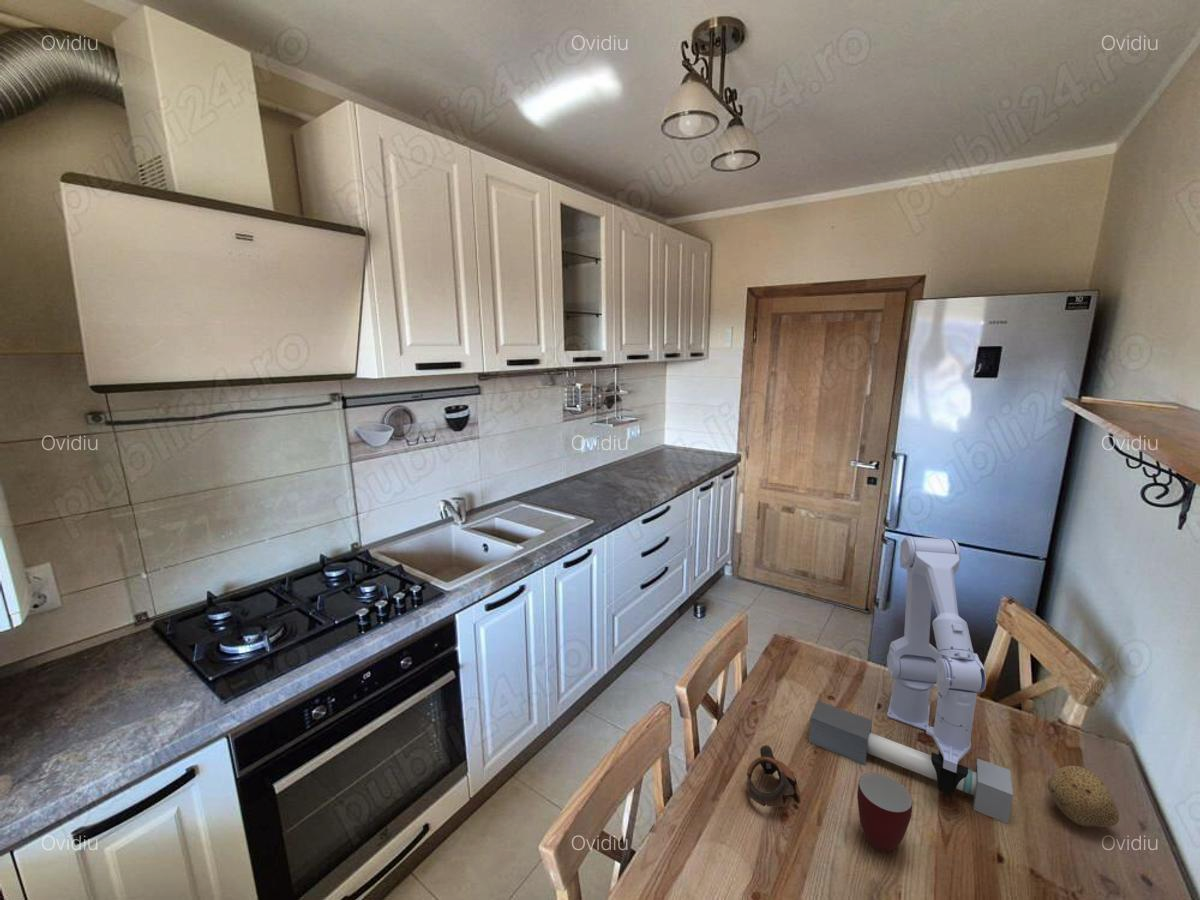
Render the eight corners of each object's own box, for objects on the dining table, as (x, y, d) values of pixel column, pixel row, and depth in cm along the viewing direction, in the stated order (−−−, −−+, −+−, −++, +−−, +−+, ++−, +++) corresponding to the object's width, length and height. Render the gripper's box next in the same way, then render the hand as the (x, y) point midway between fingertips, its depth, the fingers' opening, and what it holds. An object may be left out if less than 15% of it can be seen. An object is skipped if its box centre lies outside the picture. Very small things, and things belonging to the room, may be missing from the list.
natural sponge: (1032, 792, 96) (1039, 747, 94) (1088, 802, 94) (1097, 756, 92) (1061, 835, 87) (1070, 786, 85) (1124, 848, 85) (1135, 798, 83)
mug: (842, 805, 93) (846, 759, 92) (888, 810, 92) (893, 763, 91) (863, 860, 83) (869, 809, 81) (915, 867, 82) (922, 815, 80)
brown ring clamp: (811, 817, 92) (797, 793, 89) (763, 831, 94) (747, 808, 90) (789, 753, 103) (775, 730, 100) (745, 767, 104) (731, 744, 101)
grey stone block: (808, 742, 109) (810, 717, 108) (815, 724, 114) (817, 700, 113) (865, 765, 103) (867, 739, 102) (869, 745, 108) (872, 720, 107)
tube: (851, 751, 105) (853, 734, 104) (855, 739, 108) (856, 723, 108) (989, 807, 92) (992, 787, 91) (988, 791, 95) (991, 772, 94)
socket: (973, 809, 92) (977, 781, 91) (973, 785, 98) (976, 758, 96) (1008, 824, 89) (1013, 795, 88) (1005, 798, 95) (1010, 770, 94)
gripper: (930, 688, 103) (923, 745, 105) (926, 730, 91) (919, 794, 94) (973, 701, 99) (964, 761, 101) (974, 747, 87) (965, 813, 90)
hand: (945, 778), depth 97 cm, fingers open, 7 cm apart
